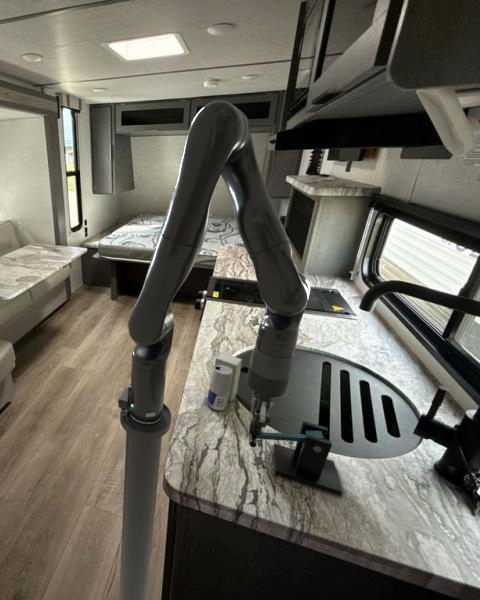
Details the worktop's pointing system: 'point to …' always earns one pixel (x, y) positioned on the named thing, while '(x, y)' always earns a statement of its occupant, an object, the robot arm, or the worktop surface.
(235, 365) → the cosmetic box
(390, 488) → the worktop surface
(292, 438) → the black and teal hammer
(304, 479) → the black lever stand
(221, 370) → the energy drink
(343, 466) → the worktop surface
